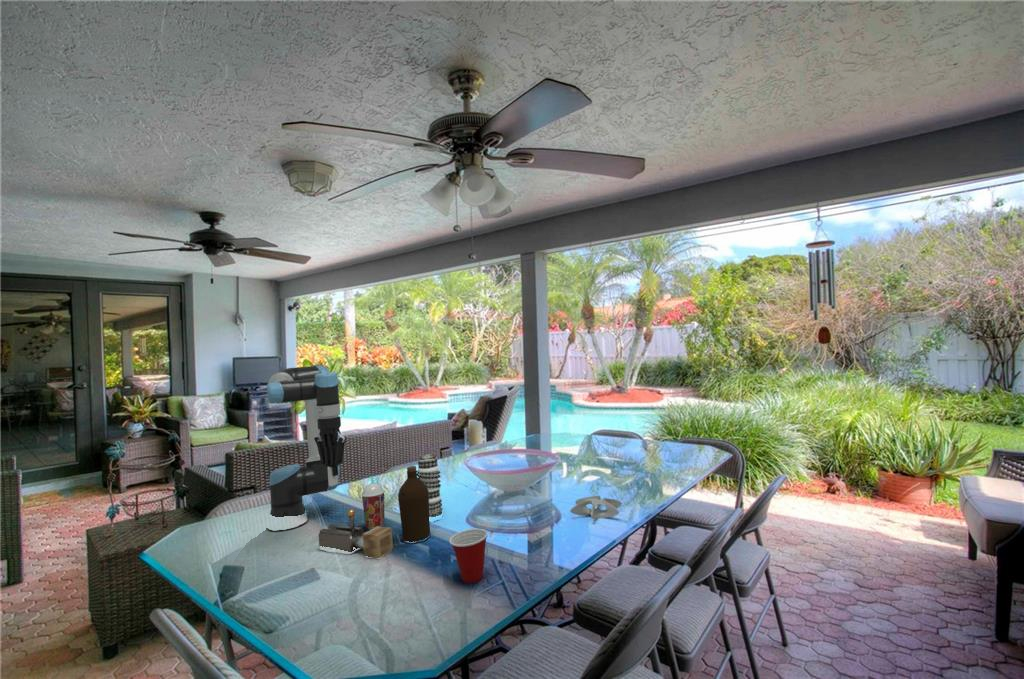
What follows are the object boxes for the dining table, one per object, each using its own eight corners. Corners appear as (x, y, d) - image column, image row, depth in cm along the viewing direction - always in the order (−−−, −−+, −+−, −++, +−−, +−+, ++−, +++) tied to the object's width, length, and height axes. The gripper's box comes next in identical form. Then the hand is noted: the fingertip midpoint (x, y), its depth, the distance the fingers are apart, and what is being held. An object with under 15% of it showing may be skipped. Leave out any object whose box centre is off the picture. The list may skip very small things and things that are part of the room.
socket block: (364, 557, 149) (362, 534, 150) (378, 548, 156) (377, 526, 156) (378, 559, 147) (377, 535, 147) (393, 550, 153) (391, 527, 154)
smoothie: (391, 526, 177) (387, 473, 178) (376, 534, 169) (372, 479, 170) (374, 524, 180) (371, 472, 181) (359, 532, 173) (355, 478, 173)
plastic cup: (449, 574, 133) (446, 532, 133) (486, 566, 136) (483, 525, 136) (455, 591, 122) (452, 545, 123) (495, 582, 125) (491, 538, 126)
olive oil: (428, 543, 157) (423, 469, 158) (397, 545, 157) (392, 472, 158) (434, 531, 167) (429, 462, 168) (405, 533, 167) (400, 464, 168)
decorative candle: (415, 522, 178) (410, 457, 179) (428, 514, 187) (423, 452, 188) (435, 524, 175) (430, 457, 176) (448, 515, 183) (443, 452, 184)
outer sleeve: (319, 550, 158) (318, 530, 158) (333, 543, 164) (332, 524, 164) (350, 555, 152) (349, 534, 152) (364, 547, 158) (363, 527, 158)
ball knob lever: (342, 548, 155) (340, 510, 156) (350, 543, 159) (348, 507, 159) (380, 552, 149) (377, 513, 149) (387, 548, 152) (385, 509, 153)
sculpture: (604, 529, 157) (602, 510, 157) (560, 517, 172) (559, 499, 172) (633, 514, 168) (632, 497, 168) (590, 504, 183) (589, 488, 184)
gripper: (306, 418, 160) (310, 487, 159) (334, 418, 154) (339, 489, 154) (323, 415, 167) (327, 480, 166) (351, 415, 161) (355, 482, 161)
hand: (333, 484), depth 160 cm, fingers closed
